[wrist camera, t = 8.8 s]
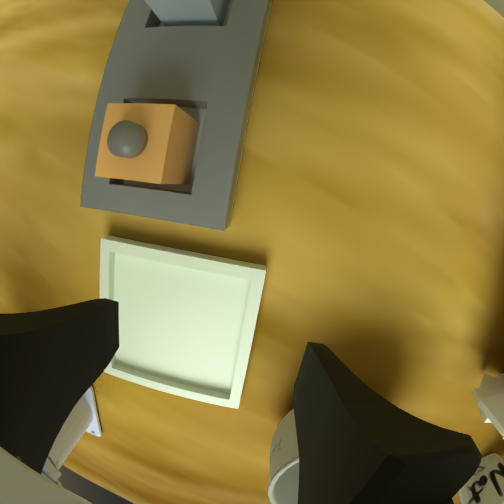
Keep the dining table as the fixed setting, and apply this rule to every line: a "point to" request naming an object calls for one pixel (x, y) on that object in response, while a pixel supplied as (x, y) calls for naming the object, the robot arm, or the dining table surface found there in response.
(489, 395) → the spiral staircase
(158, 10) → the seated twin plug
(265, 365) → the dining table surface
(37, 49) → the dining table surface
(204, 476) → the dining table surface
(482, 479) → the mug
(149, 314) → the tray
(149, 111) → the orange plug
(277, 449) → the teacup
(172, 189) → the grey socket board
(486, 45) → the dining table surface
